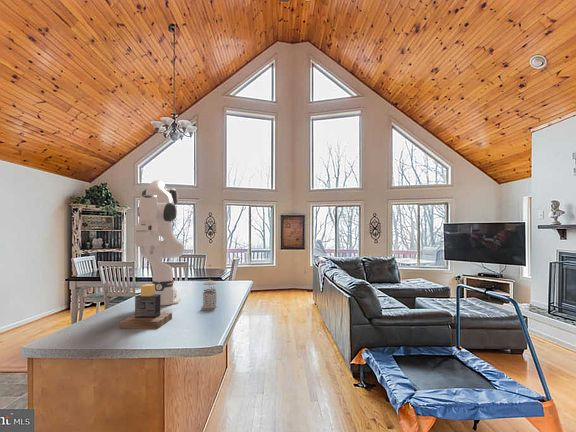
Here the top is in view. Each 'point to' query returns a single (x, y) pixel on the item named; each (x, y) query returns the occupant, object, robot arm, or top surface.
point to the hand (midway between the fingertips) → (148, 255)
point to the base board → (146, 321)
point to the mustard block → (148, 290)
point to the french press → (209, 295)
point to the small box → (147, 306)
